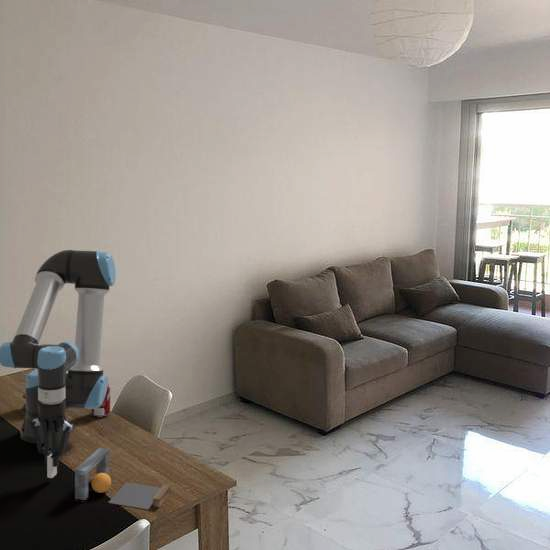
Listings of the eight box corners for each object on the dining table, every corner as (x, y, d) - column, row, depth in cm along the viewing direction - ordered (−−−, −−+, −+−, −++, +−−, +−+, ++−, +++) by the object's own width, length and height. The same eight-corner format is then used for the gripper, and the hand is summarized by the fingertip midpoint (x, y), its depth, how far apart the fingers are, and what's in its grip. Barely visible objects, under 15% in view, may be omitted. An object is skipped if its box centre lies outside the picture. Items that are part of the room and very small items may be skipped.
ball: (85, 489, 178) (92, 475, 176) (94, 479, 183) (101, 465, 181) (101, 500, 177) (108, 485, 176) (109, 489, 182) (117, 475, 181)
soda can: (104, 419, 230) (105, 388, 228) (88, 416, 231) (88, 386, 229) (113, 412, 236) (113, 382, 234) (96, 410, 238) (97, 380, 236)
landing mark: (108, 503, 174) (108, 502, 174) (126, 482, 185) (126, 482, 185) (148, 510, 172) (148, 509, 171) (164, 488, 183) (164, 488, 183)
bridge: (75, 499, 174) (75, 469, 173) (99, 476, 188) (99, 447, 187) (84, 501, 174) (85, 471, 172) (108, 477, 188) (109, 449, 186)
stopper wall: (152, 506, 173) (153, 498, 173) (163, 492, 181) (163, 484, 181) (159, 507, 173) (159, 499, 173) (170, 493, 181) (170, 485, 180)
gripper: (23, 401, 177) (24, 478, 181) (65, 407, 174) (65, 485, 178) (38, 392, 184) (39, 466, 188) (79, 398, 182) (78, 473, 186)
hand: (52, 475), depth 183 cm, fingers closed
